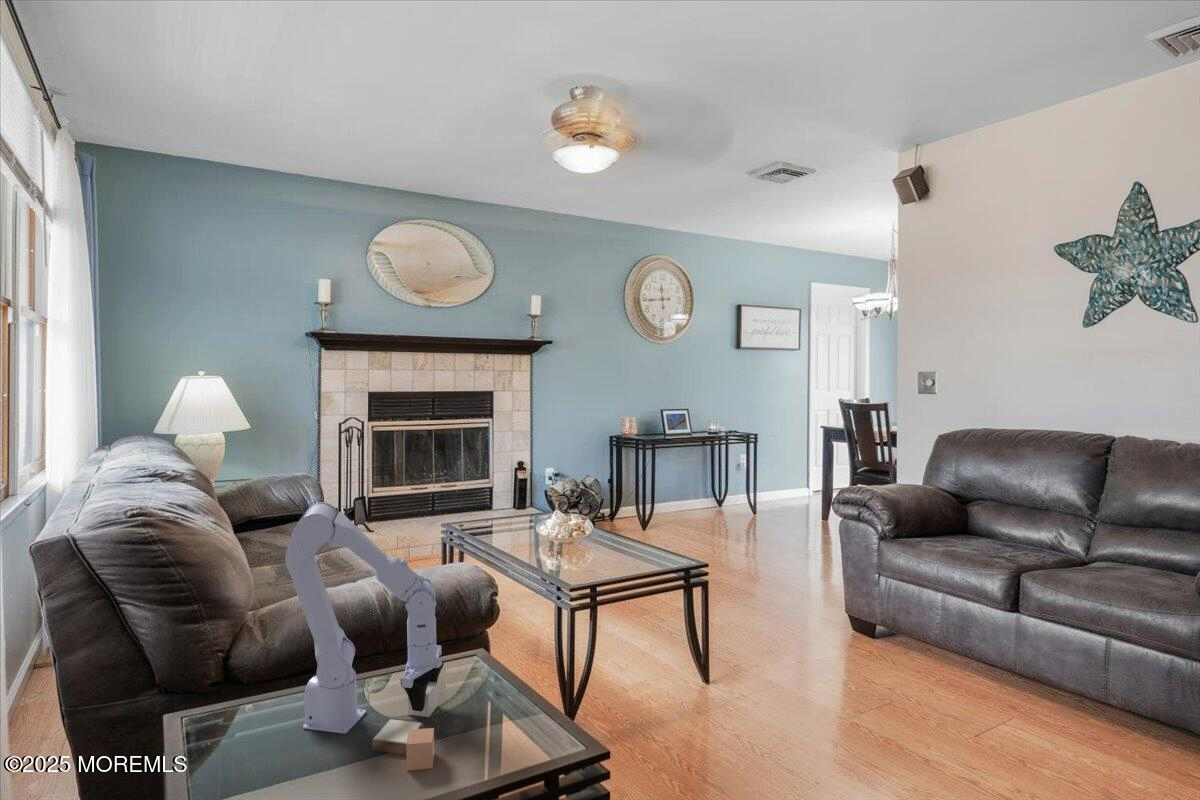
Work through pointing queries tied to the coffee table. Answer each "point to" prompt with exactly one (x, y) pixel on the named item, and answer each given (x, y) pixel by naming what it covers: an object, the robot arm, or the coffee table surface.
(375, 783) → the coffee table surface
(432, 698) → the stone block
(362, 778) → the coffee table surface
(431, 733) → the terracotta block
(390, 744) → the plinth
